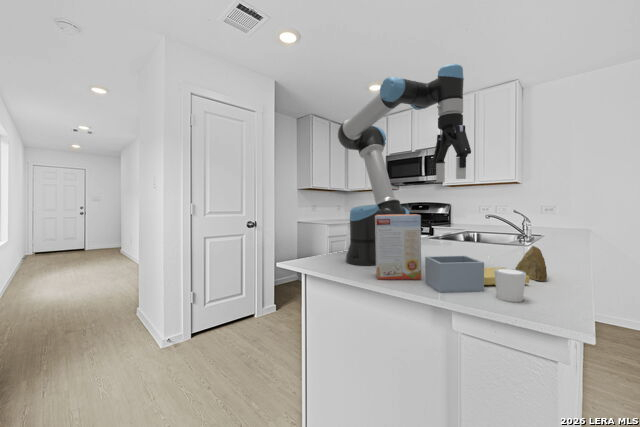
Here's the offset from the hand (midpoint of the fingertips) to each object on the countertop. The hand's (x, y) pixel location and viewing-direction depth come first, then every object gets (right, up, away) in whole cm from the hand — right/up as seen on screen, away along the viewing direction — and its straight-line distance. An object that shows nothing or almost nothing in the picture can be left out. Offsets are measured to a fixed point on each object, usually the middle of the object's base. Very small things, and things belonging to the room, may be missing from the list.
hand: (449, 180), depth 95 cm
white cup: (+6, -33, -21) cm, 39 cm away
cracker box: (-17, -32, 0) cm, 37 cm away
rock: (+25, -32, -2) cm, 40 cm away
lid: (+11, -31, -6) cm, 34 cm away
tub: (-4, -32, -11) cm, 34 cm away
